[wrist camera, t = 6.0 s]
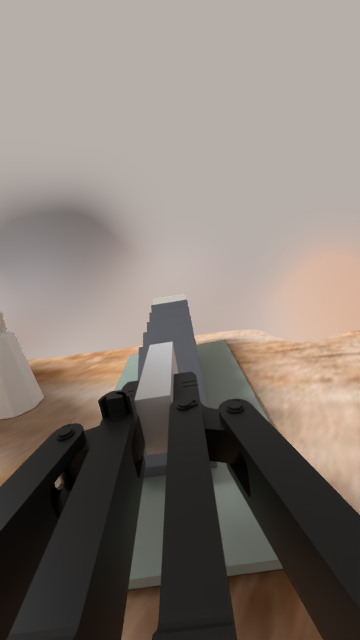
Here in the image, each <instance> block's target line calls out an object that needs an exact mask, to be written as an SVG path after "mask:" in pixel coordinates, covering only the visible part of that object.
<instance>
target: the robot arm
mask: <svg viewBox="0 0 360 640" xmlns="http://www.w3.org/2000/svg"><path fill="white" fill-rule="evenodd" d="M98 402H99V406H100V409H101V413H102V417H103V419H102V421H101V423H100V425H99V426H97V427H95V428H92V429H89V430H86V431H84V429H83V426H81V425H80V424H68V425H65V426H63V427H61V428H60V429H58V430H56V431H55V432H54V433H53V434H51V436H50V437H49V438H48V439H47V440H46V441H45V442H44V443H43V444H42V445H41V446H40V447H39V448H38V449H37V450H36V451H35V452H34V453H33V454H32V455H31V456H30V457H29V458H28V459H27V460H26V461H25V462H24V463H23V464H22V465H21V466H20V467H19V468H18V469H17V470H16V471H15V472H14V473H13V474H12V475H11V476H10V478H9V479H8V480H7V481H6V482H5V483H4V484H3V485H2V486H1V487H0V640H121V636H122V629H123V622H124V615H125V608H126V600H127V593H128V586H129V579H130V572H131V565H132V558H133V551H134V543H135V536H136V529H137V522H138V515H139V508H140V501H141V494H142V487H143V479H144V472H145V465H146V464H145V458H144V454H143V453H144V447H145V449H146V453H147V455H153V454H160V453H167V466H166V486H165V506H164V526H163V546H162V566H161V586H160V606H159V622H158V628H157V631H156V632H155V633H154V634H153V637H152V640H237V635H236V629H235V622H234V615H233V609H232V602H231V596H230V589H229V583H228V576H227V570H226V563H225V557H224V550H223V544H222V537H221V531H220V524H219V518H218V511H217V505H216V498H215V492H214V485H213V479H212V472H211V465H210V461H213V462H221V463H226V465H227V468H228V470H229V472H230V474H231V476H232V477H233V479H234V481H235V483H236V485H237V486H238V488H239V490H240V492H241V493H242V495H243V497H244V499H245V501H246V502H247V504H248V506H249V508H250V510H251V511H252V513H253V515H254V517H255V518H256V520H257V522H258V524H259V526H260V527H261V529H262V531H263V533H264V535H265V536H266V538H267V540H268V542H269V544H270V545H271V547H272V549H273V551H274V552H275V554H276V556H277V558H278V560H279V561H280V563H281V565H282V567H283V569H284V570H285V572H286V574H287V576H288V577H289V579H290V581H291V583H292V585H293V586H294V588H295V590H296V592H297V594H298V595H299V597H300V599H301V601H302V602H303V604H304V606H305V608H306V610H307V611H308V613H309V615H310V617H311V619H312V620H313V622H314V624H315V626H316V627H317V629H318V631H319V633H320V635H321V636H322V638H323V640H360V515H359V514H358V513H357V512H356V511H355V510H354V509H353V508H352V507H351V506H350V505H349V504H348V503H347V502H346V501H345V500H344V499H343V497H342V496H341V495H340V494H339V493H338V492H337V491H336V490H335V489H334V488H333V487H332V486H331V485H330V484H329V483H328V482H327V481H326V480H325V479H324V478H323V477H322V476H321V475H320V474H319V473H318V472H317V471H316V470H315V469H314V468H313V467H312V466H311V465H310V464H309V463H308V462H307V461H306V460H305V459H304V458H303V457H302V455H301V454H300V453H299V452H298V451H297V450H296V449H295V448H294V447H293V446H292V445H291V444H290V443H289V442H288V441H287V440H286V439H285V438H284V437H283V436H282V435H281V434H280V433H279V432H278V431H277V430H276V429H275V428H274V427H273V426H272V425H271V424H270V423H269V422H268V421H267V420H266V419H265V418H264V417H263V416H262V415H261V413H260V412H259V411H258V410H257V409H256V408H255V407H254V406H253V405H252V404H251V403H249V402H248V401H246V400H243V399H229V400H226V401H224V402H222V403H221V404H220V405H219V408H218V409H214V408H209V407H206V406H204V405H203V404H202V403H201V401H200V396H199V389H198V383H197V377H196V375H195V374H194V373H193V372H192V371H191V372H184V373H178V369H177V363H176V358H175V352H174V347H173V341H172V342H166V343H160V344H153V345H150V346H149V350H148V353H147V357H146V360H145V364H144V367H143V371H142V375H141V378H140V380H137V381H131V382H127V383H126V384H125V385H124V386H123V387H122V390H117V391H113V392H110V393H108V394H105V395H104V396H102V397H101V398H100V399H99V401H98ZM59 476H60V478H61V481H62V483H61V484H60V486H59V487H58V488H56V487H55V484H54V483H55V481H56V480H57V479H58V477H59Z"/></svg>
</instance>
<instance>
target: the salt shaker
mask: <svg viewBox="0 0 360 640" xmlns="http://www.w3.org/2000/svg"><path fill="white" fill-rule="evenodd" d="M4 323H5V322H4V320H3V313H2V312H0V420H1V419H8V418H15V417H17V416H19V415H21V414H23V413H25V412H27V411H29V410H31V409H34V408H35V407H36V406H37V405H38V404H39V403H40V402H41V400H42V399H43V398H44V396H43V394H42V391H41V389H40V387H39V385H38V383H37V381H36V379H35V377H34V374H33V372H32V370H31V368H30V366H29V364H28V362H27V359H26V357H25V356H24V353H23V351H22V349H21V347H20V345H19V342H18V341H17V338H16V336H15V335H14V333H12V332H9V331H6V329H7V328H6V327H5V324H4Z"/></svg>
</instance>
